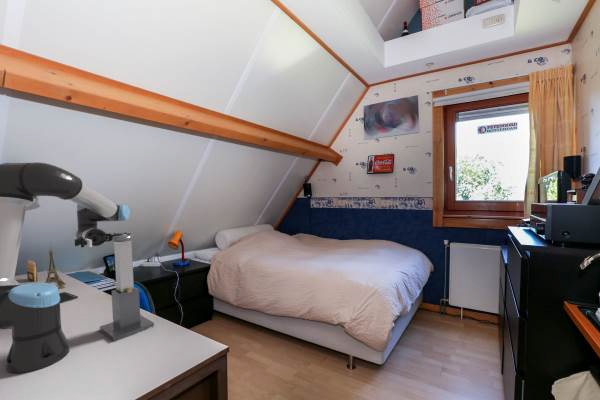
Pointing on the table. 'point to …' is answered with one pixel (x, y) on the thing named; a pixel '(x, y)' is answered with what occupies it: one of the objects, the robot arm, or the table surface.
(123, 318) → the jack stand base
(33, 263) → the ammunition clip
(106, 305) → the table surface
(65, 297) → the phone
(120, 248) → the column
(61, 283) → the eiffel tower
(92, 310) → the table surface
